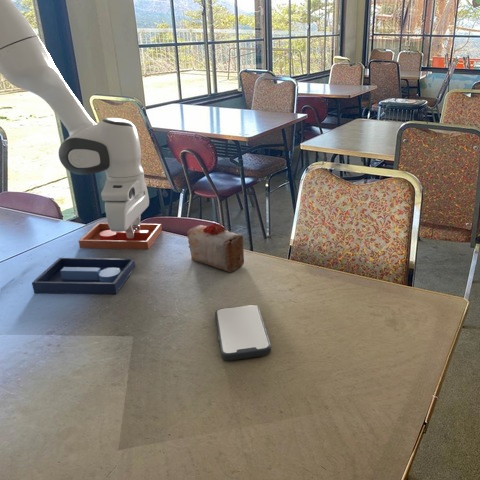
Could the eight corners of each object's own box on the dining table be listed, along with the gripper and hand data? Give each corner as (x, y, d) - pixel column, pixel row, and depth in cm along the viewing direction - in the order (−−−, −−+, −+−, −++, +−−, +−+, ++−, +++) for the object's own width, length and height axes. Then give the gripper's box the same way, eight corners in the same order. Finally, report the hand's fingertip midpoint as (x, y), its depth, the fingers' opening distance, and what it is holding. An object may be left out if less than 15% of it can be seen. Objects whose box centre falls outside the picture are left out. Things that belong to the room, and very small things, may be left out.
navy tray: (34, 293, 101) (31, 282, 100) (61, 267, 113) (59, 257, 112) (116, 294, 102) (114, 284, 101) (135, 268, 113) (134, 258, 112)
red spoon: (151, 235, 129) (150, 228, 129) (146, 242, 125) (145, 235, 124) (104, 234, 129) (103, 227, 128) (97, 241, 125) (96, 234, 124)
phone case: (214, 315, 96) (221, 363, 82) (214, 308, 95) (221, 355, 81) (258, 310, 98) (272, 356, 84) (258, 303, 97) (272, 348, 83)
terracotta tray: (80, 249, 122) (78, 240, 121) (99, 231, 133) (98, 222, 132) (148, 250, 122) (147, 241, 121) (162, 232, 133) (161, 223, 132)
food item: (184, 261, 117) (181, 223, 113) (207, 250, 123) (204, 214, 119) (227, 275, 111) (225, 236, 107) (249, 263, 117) (248, 225, 113)
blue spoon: (58, 282, 105) (56, 273, 104) (68, 272, 109) (67, 264, 108) (117, 283, 105) (115, 274, 104) (124, 273, 109) (123, 265, 108)
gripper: (128, 172, 131) (135, 219, 136) (97, 196, 112) (106, 250, 117) (151, 173, 131) (157, 220, 136) (125, 196, 112) (132, 250, 118)
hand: (133, 234), depth 127 cm, fingers closed
